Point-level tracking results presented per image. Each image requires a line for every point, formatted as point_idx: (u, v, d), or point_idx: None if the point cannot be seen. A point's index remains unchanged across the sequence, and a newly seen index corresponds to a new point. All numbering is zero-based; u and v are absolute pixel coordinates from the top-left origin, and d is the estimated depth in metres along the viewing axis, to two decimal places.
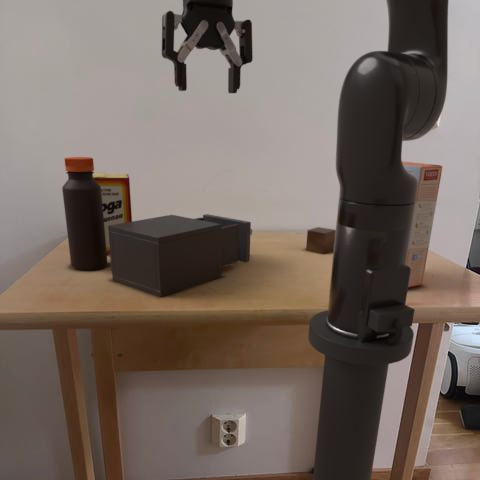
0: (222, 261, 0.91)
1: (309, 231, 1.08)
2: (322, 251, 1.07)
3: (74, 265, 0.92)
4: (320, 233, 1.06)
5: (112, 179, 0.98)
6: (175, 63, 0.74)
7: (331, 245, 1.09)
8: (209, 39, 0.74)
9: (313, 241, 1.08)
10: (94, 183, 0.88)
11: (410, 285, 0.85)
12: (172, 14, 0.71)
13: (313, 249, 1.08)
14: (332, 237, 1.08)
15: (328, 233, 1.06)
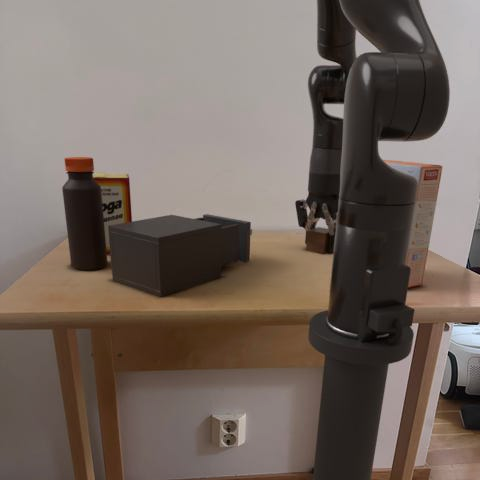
0: (222, 261, 0.91)
1: (309, 231, 1.08)
2: (322, 251, 1.07)
3: (74, 265, 0.92)
4: (320, 233, 1.06)
5: (112, 179, 0.98)
6: None
7: None
8: (320, 213, 1.06)
9: (313, 241, 1.08)
10: (94, 183, 0.88)
11: (410, 285, 0.85)
12: (298, 202, 1.09)
13: (313, 249, 1.08)
14: None
15: (328, 233, 1.06)
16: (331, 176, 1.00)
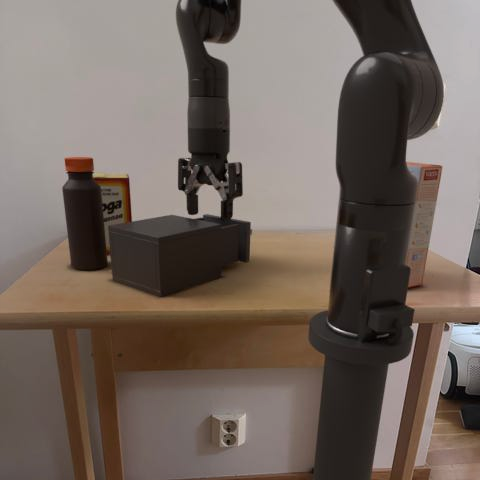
0: (222, 261, 0.91)
1: None
2: None
3: (74, 265, 0.92)
4: None
5: (112, 179, 0.98)
6: None
7: None
8: (204, 178, 0.89)
9: None
10: (94, 183, 0.88)
11: (410, 285, 0.85)
12: (181, 160, 0.91)
13: None
14: None
15: None
16: (209, 131, 0.83)
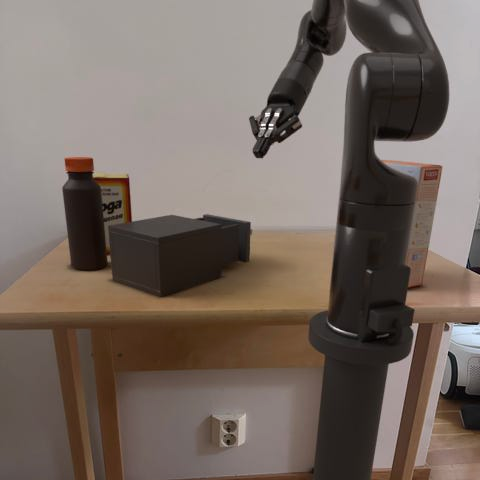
0: (222, 261, 0.91)
1: None
2: None
3: (74, 265, 0.92)
4: None
5: (112, 179, 0.98)
6: None
7: None
8: (271, 119, 1.01)
9: None
10: (94, 183, 0.88)
11: (410, 285, 0.85)
12: (252, 116, 1.04)
13: None
14: None
15: None
16: (296, 83, 1.00)
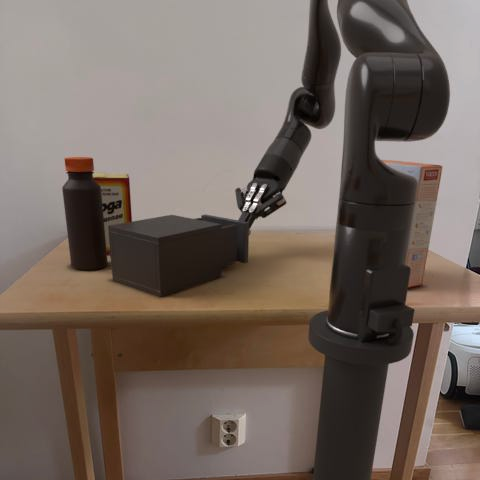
0: None
1: None
2: None
3: (74, 265, 0.92)
4: None
5: (112, 179, 0.98)
6: None
7: None
8: (256, 194, 1.02)
9: None
10: (94, 183, 0.88)
11: (410, 285, 0.85)
12: (238, 188, 1.05)
13: None
14: None
15: None
16: (282, 160, 1.01)
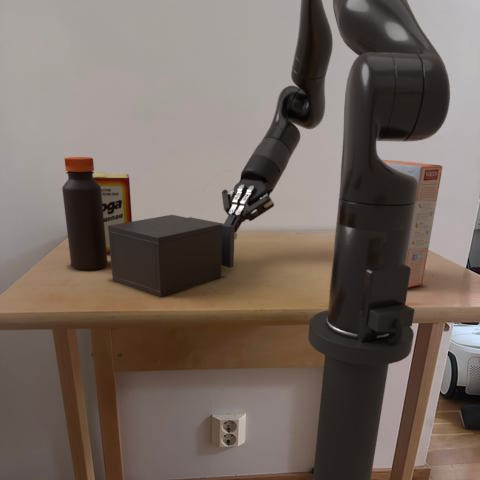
0: None
1: None
2: None
3: (74, 265, 0.92)
4: None
5: (112, 179, 0.98)
6: None
7: None
8: (243, 196, 0.99)
9: None
10: (94, 183, 0.88)
11: (410, 285, 0.85)
12: (225, 190, 1.02)
13: None
14: None
15: None
16: (269, 161, 0.98)
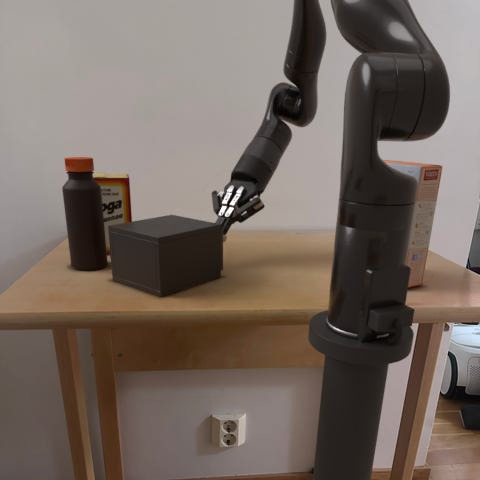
0: None
1: None
2: None
3: (74, 265, 0.92)
4: None
5: (112, 179, 0.98)
6: None
7: None
8: (233, 197, 0.96)
9: None
10: (94, 183, 0.88)
11: (410, 285, 0.85)
12: (215, 191, 0.99)
13: None
14: None
15: None
16: (260, 161, 0.95)
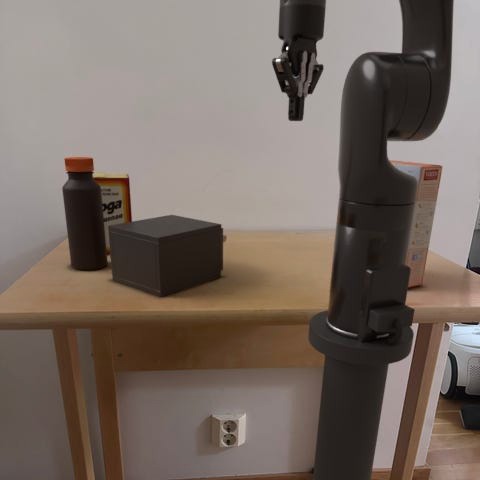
0: None
1: None
2: None
3: (74, 265, 0.92)
4: None
5: (112, 179, 0.98)
6: (293, 97, 0.83)
7: None
8: None
9: None
10: (94, 183, 0.88)
11: (410, 285, 0.85)
12: (286, 59, 0.78)
13: None
14: None
15: None
16: None
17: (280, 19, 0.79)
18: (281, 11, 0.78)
